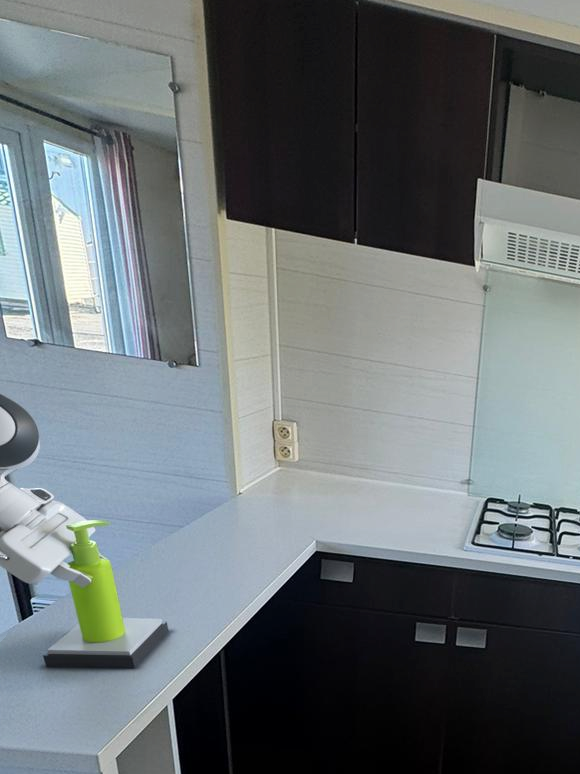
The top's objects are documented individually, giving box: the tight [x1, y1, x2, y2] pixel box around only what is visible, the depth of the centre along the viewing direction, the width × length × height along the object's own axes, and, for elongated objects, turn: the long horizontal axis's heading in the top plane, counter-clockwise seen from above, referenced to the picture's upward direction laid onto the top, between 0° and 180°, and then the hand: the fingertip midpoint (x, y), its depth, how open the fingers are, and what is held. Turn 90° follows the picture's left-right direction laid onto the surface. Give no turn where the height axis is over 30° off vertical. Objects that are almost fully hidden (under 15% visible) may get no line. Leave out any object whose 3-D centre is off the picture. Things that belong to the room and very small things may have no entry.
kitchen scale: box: [42, 617, 170, 669], centre depth 109 cm, size 13×13×3 cm
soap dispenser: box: [66, 519, 125, 642], centre depth 105 cm, size 6×7×20 cm
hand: (97, 574), depth 104 cm, fingers closed on soap dispenser, 6 cm apart
